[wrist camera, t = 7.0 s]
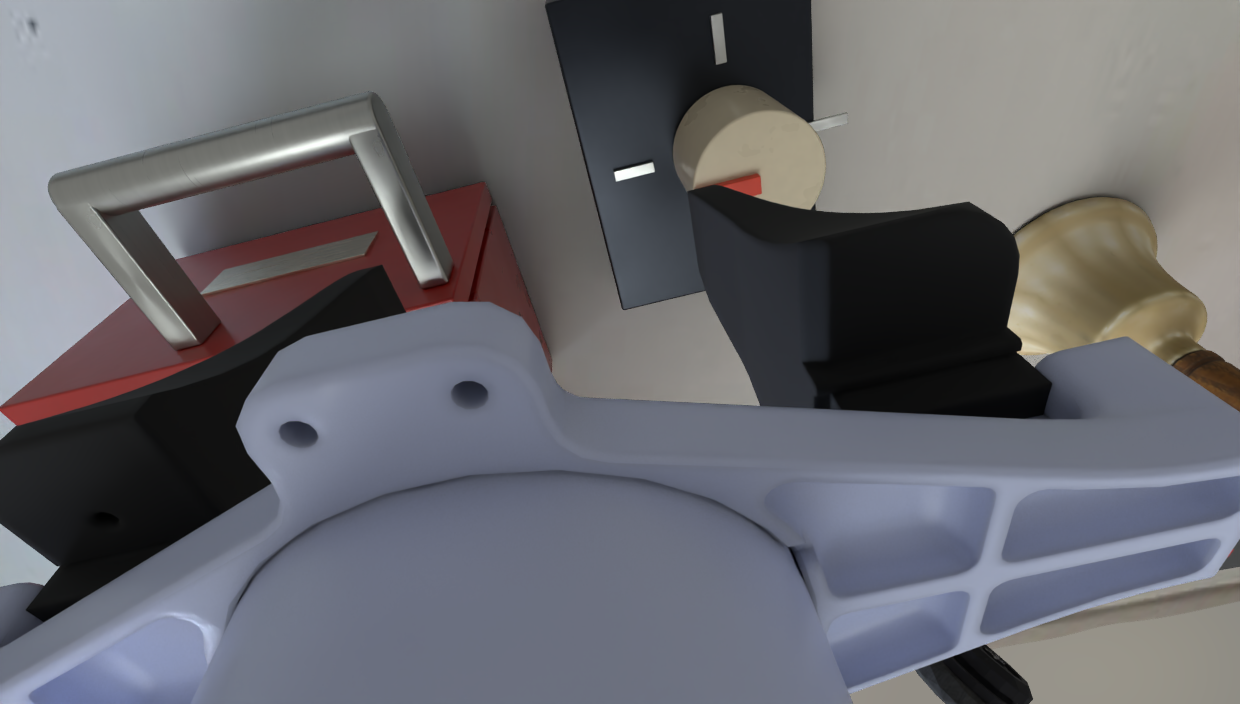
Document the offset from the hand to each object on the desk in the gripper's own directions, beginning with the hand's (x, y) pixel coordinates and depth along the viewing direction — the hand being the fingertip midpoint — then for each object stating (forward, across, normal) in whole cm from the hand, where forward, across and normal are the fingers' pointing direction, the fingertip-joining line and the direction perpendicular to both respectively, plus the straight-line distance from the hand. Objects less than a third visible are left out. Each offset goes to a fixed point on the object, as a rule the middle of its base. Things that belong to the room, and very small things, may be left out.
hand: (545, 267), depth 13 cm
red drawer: (+10, +9, -1) cm, 13 cm away
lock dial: (+8, -6, +1) cm, 10 cm away
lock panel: (+10, -5, +1) cm, 12 cm away
